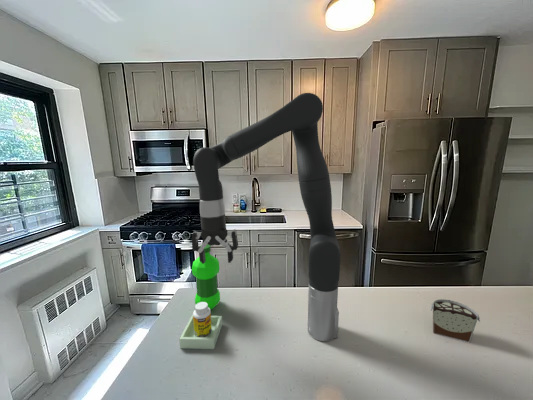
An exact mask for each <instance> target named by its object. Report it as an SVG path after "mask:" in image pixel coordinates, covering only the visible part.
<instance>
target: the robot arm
mask: <svg viewBox="0 0 533 400" xmlns="http://www.w3.org/2000/svg"><path fill="white" fill-rule="evenodd" d="M323 111H324V107H323V101H322V100H321V98H320V96H318V95H317V94H314V93H312V92H303V93H301V94H299V95H297V96H296V97H294V98H293V99H292V100H291V101H289V102H288V103H286V104H285V105H283V106H282V107H281V108H280V109H278V110H276V111H274V112H273V113H271V114H270V115H268V116H266V117H265V118H262V119H261V120H259V121H257V122H255V123H253V124H250V125H248V126H247V127H244V128H242V129H240V130H237V132H234V133H232V134H231V135H228V136H227V137H225V138H224V139H223V140H222V141H221V142H219V143H218V144H217V143H216V144H214V145H213V146H210V147H205V146H204V147H201V148H199V149H197V150H196V151H195V152H194V154H193V155H194V156H193V170H194V173H195V174H194V175H195V178H196V181H197V184H198V194H199V214H200V227H201V231H197V230H194V231H193V232H192V233H191V246H192V247H191V250H192V252H197V253H198V257H199V259H200V262H202V264H204V263H205V261H206V258H205V250H204V248H205V247H206V245H210V247H212V246H220V245H221V246H222V247H223V248H225V249H226V251H227V253H226V254H227V263H232V261H233V259H234V251H237V249H238V247H239V242H238V240H239V239H238V233H237V229H233V230H228V229H227V224H226V221H227V220H226V208H225V207H226V206H225V201H224V192H223V184H222V181H221V180H220V175H219V169H221V168H223V167H225V166H226V165H229V164H230V163H231V162H233V161H235V160H238V159H240V158H242V157H245V156H246V155H249V154H251V153H252V152H254V151H256V150H258V149H260V148H261V147H263V146H265V145H266V144H268V143H269V142H271V141H273V140H274V139H277V138H278V137H281V136H282V135H284V134H286V133H290V132H291V133H292V137H293V142H294V145H295V150H296V167H297V176H298V177H297V178H298V184H299V190H300V195H301V199H302V203H303V206H304V208H305V212H306V214H307V217H308V221H309V230H310V245H309V248H308V249H309V251H308V295H307V296H308V297H307V298H308V300H307V304H308V305H307V332H308V335H310V337H311V338H313V339H315V340H317V341H319V342H329V341H333V339H338V337H339V319H340V318H339V317H340V316H339V315H340V311H339V308H338V300H339V296H338V295H339V282H340V275H341V274H340V272H341V249H340V243H339V240H338V238H337V234H336V230H335V227H334V226H335V225H334V221H333V214H332V213H333V212H332V211H333V209H332V208H333V197H332V186H331V179H330V172H329V167H328V165H327V162H326V160H325V157H324V154H323V152H322V149H321V146H320V140H319V132H318V131H319V129H318V128H319V127H318V123H319V121H320V120H321V118H322V115H323V113H324V112H323ZM228 236H229V237H230V238H231V240H232V241H231V242H232V244H231V243H230V241H229V240H228V238H227V237H228ZM200 238H201V239H203V242H202V244H201V245H199V239H200ZM200 246H201V247H200Z"/></svg>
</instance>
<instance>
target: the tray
mask: <svg viewBox="0 0 533 400" xmlns="http://www.w3.org/2000/svg"><path fill="white" fill-rule="evenodd" d="M222 326H223V316H222V315H211V328H212V331H211V334H210V335H209V336H208V337H195V335H194V323H193V314H192V315H191V316H190V318H189V320H188V321H187V323H186V326H185V327H184V329H183V331H182V333H181V336H180V337H179V348H180V349H192V350H193V349H197V350H201V349H202V350H214V349H216V346H217V342H218V339H219V336H220V332H221V330H222Z"/></svg>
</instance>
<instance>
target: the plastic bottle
mask: <svg viewBox="0 0 533 400" xmlns="http://www.w3.org/2000/svg"><path fill="white" fill-rule="evenodd" d="M199 246H200V247H201V245H199ZM204 250H205V258H206V261H205V263H204V264H202V262H200V259H199V256H198V257H197V258H196V259H195V260H194V261H193V262H192V266H191V273H192V276H193V277H195V282H196V284H195V285H196V293H195V298H194V304H195V305H196V304H198V303H200V302H206V303H207V304H208V307H209V308H210V310H213V309H214V308H216V306H217V305H218V304H219V303H220V301H221V292H220V290H219V288H218V279H217V278H218V277H217V276H218V274H219V273H220V261H219V259H218V258H217V257H216V256H214V255H212V254H210V252H211V250H212V249H211V246H210V245H209V244H207V245H206V247H205V248H204Z"/></svg>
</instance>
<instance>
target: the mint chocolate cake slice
mask: <svg viewBox="0 0 533 400" xmlns="http://www.w3.org/2000/svg"><path fill="white" fill-rule="evenodd" d="M431 311H432V333H434V334H433V335H437V336H440V337H441V336H442V337H446V338H449V339H452V340H453V339H454V340H456V341H460V340H461V341H462V342H464V341H465V342H464V343H468V342H469V344H470V343H471V340H472V338H473V337H472V336H473V334H474V331H475V327H476V325H477V322H481V320H480V318H481V317H480V315H479V314H478V312H477V311H475V309H472V308H471V307H469V306H467V305H465V304H463V303H461V302H458V301H454V300H450V299H446V298H445V299H444V298H443V299H442V298H441V299H436V300H434V301H433V302H432V304H431V306H430V312H431ZM461 341H460V342H461Z"/></svg>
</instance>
